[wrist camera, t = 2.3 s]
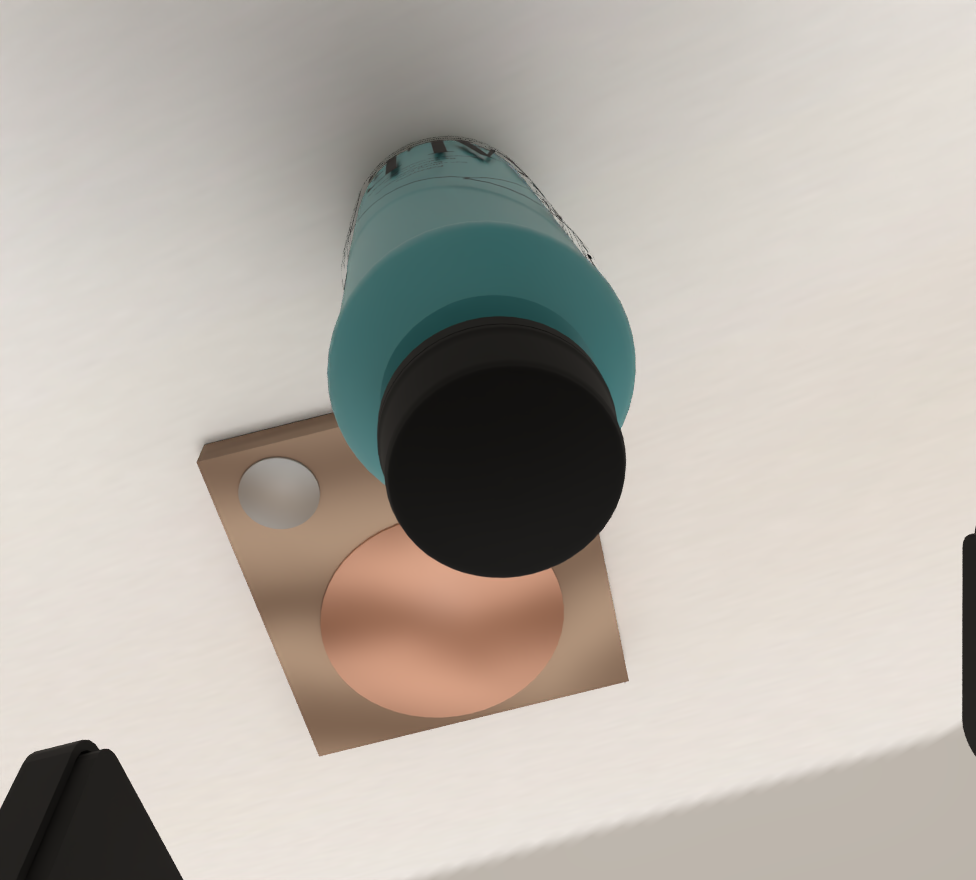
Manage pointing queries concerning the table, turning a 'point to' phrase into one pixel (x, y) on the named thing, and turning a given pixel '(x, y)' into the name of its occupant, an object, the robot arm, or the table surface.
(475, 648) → the board
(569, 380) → the beverage bottle
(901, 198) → the table surface
